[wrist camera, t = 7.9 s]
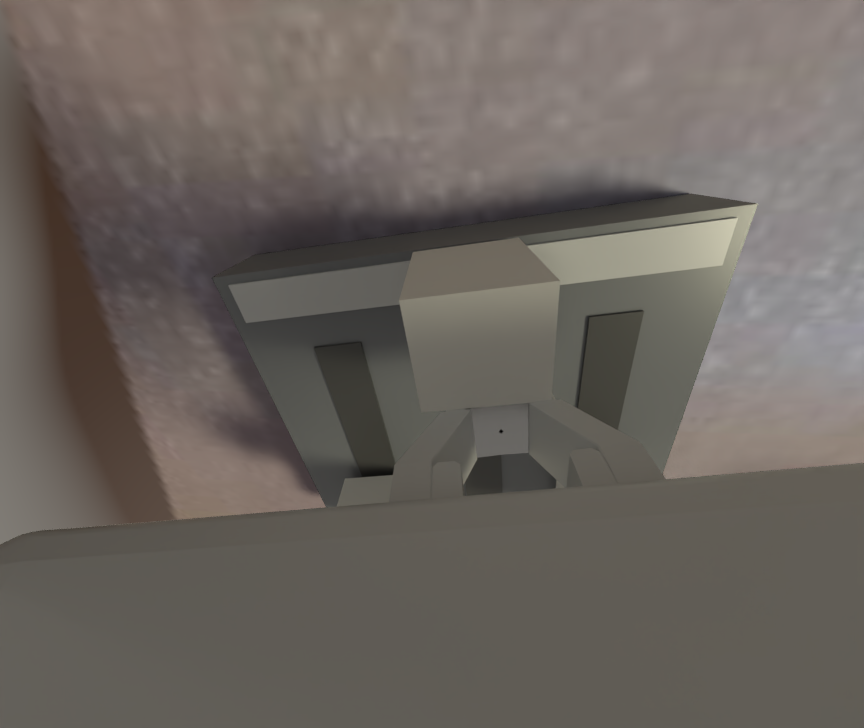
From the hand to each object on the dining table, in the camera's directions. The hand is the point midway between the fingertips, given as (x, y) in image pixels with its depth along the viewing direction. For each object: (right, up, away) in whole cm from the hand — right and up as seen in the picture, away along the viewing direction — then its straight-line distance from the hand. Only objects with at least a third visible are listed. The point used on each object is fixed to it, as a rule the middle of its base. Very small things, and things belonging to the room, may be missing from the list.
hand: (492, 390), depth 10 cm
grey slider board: (0, -1, +7) cm, 7 cm away
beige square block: (-1, +3, +1) cm, 3 cm away
